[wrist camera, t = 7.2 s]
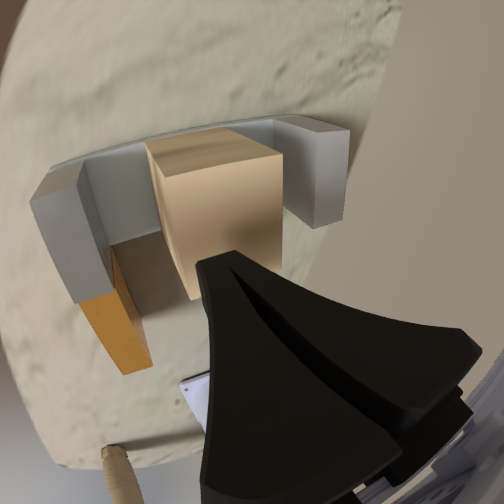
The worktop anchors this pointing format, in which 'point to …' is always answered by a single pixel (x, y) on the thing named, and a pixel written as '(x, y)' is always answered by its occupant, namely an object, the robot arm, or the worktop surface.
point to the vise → (258, 129)
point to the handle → (120, 476)
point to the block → (217, 198)
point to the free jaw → (89, 264)
